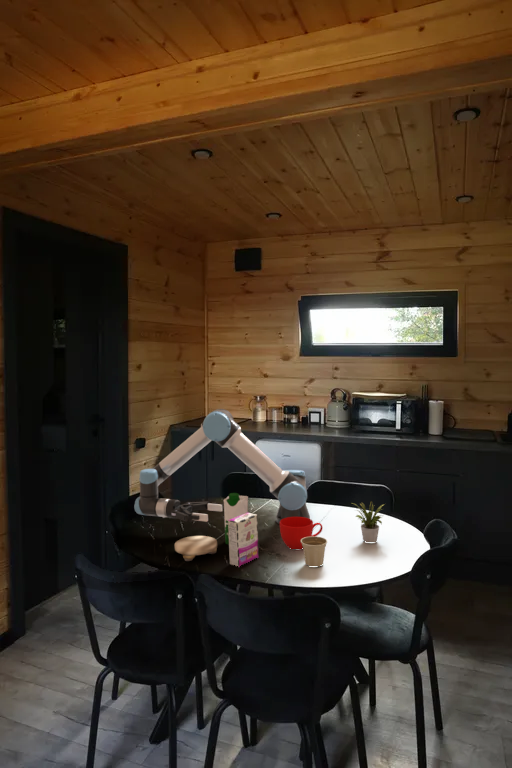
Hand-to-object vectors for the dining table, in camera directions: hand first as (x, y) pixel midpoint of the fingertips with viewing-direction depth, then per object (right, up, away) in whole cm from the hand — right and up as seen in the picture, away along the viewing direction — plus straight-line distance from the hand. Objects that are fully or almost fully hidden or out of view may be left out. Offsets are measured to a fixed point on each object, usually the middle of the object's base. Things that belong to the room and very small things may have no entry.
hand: (215, 512), depth 213 cm
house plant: (+61, -10, -5) cm, 62 cm away
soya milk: (+9, -11, -3) cm, 15 cm away
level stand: (-6, -12, -14) cm, 19 cm away
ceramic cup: (+34, -11, -9) cm, 37 cm away
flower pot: (+37, -12, -26) cm, 47 cm away
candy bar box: (+12, -12, -22) cm, 28 cm away
